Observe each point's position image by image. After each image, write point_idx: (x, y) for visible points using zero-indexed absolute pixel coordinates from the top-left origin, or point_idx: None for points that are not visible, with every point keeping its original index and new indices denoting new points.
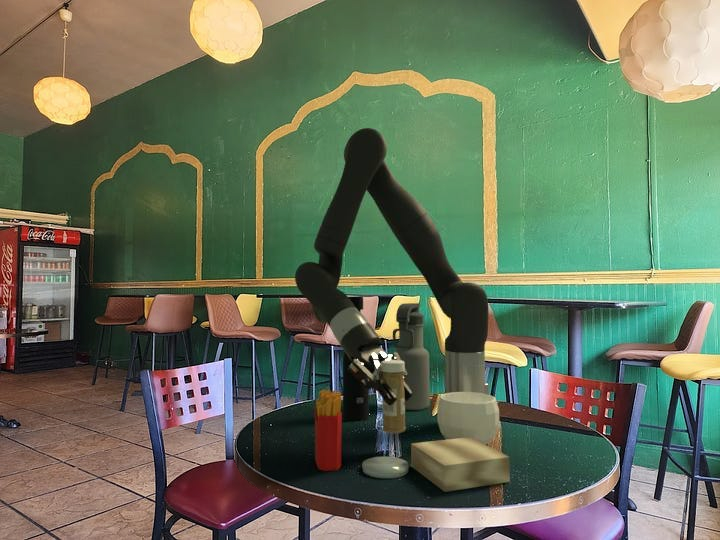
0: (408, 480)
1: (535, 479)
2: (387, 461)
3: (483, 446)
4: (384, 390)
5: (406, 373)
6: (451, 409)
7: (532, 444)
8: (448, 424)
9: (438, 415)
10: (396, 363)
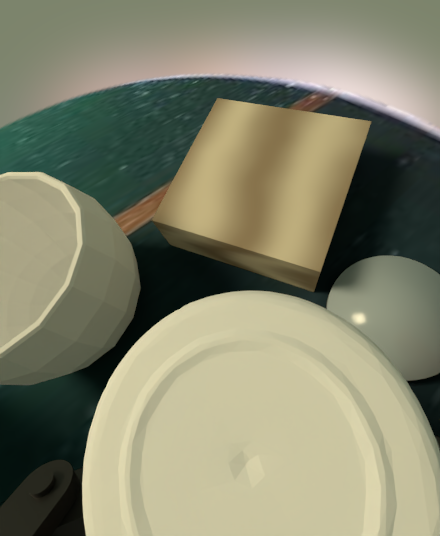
0: (381, 236)
1: (184, 123)
2: (375, 324)
3: (195, 159)
4: None
5: (40, 474)
6: (105, 252)
7: None
8: (130, 282)
9: (96, 335)
10: (314, 306)
